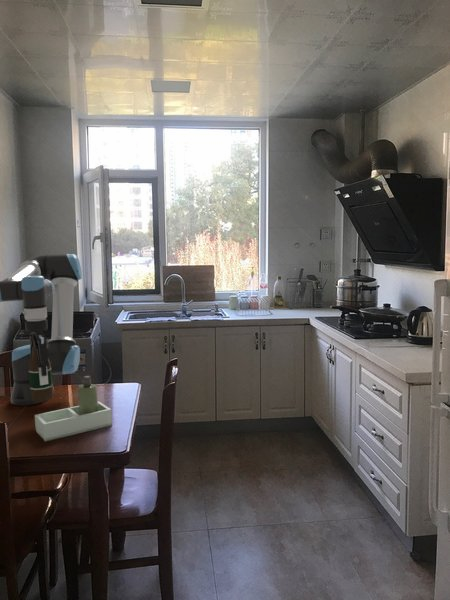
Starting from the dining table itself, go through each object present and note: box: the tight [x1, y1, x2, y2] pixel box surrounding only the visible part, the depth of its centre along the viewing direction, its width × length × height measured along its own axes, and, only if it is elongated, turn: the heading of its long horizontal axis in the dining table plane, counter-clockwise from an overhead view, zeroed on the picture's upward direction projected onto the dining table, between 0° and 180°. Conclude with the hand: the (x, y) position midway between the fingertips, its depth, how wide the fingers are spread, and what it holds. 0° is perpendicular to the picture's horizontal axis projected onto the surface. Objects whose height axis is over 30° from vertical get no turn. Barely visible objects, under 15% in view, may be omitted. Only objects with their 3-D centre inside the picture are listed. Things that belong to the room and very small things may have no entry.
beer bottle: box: [29, 334, 54, 403], centre depth 177 cm, size 8×8×24 cm
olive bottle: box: [77, 375, 99, 415], centre depth 175 cm, size 6×6×17 cm
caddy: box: [34, 401, 113, 442], centre depth 172 cm, size 12×23×6 cm, turn 125°
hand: (41, 381), depth 178 cm, fingers closed on beer bottle, 8 cm apart
